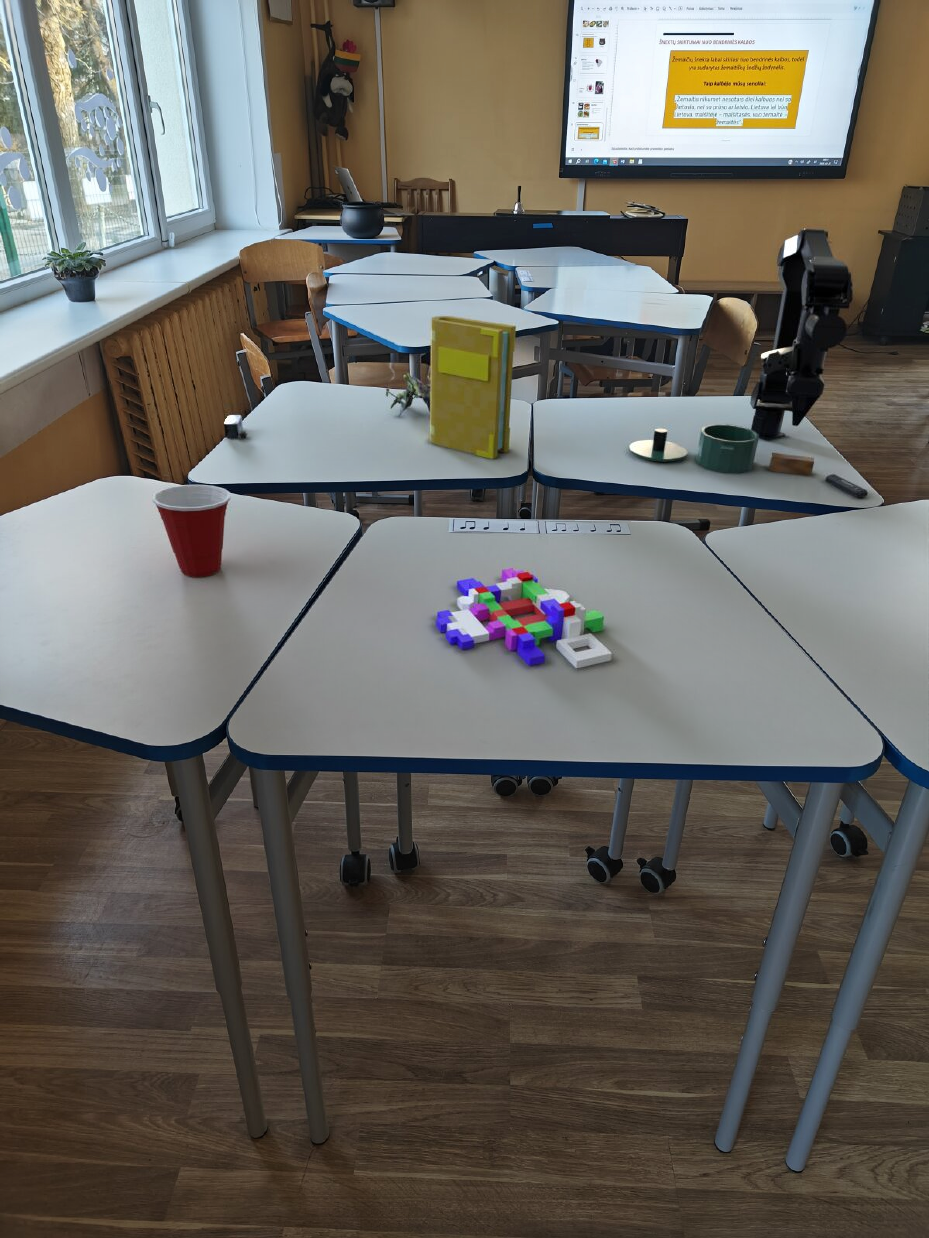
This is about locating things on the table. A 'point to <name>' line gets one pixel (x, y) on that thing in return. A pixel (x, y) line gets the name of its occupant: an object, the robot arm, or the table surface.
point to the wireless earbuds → (234, 427)
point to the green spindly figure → (412, 393)
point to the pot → (727, 448)
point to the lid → (658, 448)
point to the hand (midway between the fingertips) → (794, 418)
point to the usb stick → (846, 486)
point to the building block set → (524, 619)
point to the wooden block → (791, 464)
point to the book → (471, 384)
